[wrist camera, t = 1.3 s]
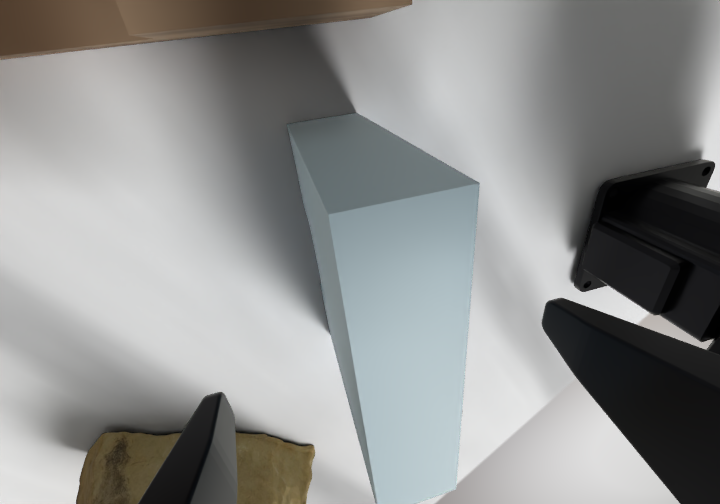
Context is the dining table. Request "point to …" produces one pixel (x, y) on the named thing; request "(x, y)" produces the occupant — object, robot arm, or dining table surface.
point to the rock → (148, 452)
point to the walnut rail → (158, 20)
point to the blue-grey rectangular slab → (393, 293)
